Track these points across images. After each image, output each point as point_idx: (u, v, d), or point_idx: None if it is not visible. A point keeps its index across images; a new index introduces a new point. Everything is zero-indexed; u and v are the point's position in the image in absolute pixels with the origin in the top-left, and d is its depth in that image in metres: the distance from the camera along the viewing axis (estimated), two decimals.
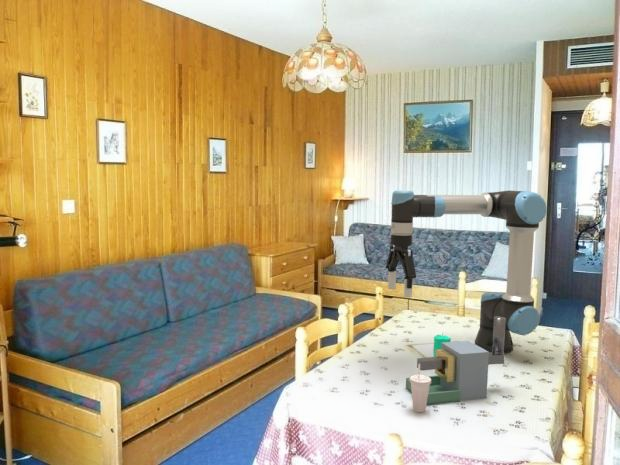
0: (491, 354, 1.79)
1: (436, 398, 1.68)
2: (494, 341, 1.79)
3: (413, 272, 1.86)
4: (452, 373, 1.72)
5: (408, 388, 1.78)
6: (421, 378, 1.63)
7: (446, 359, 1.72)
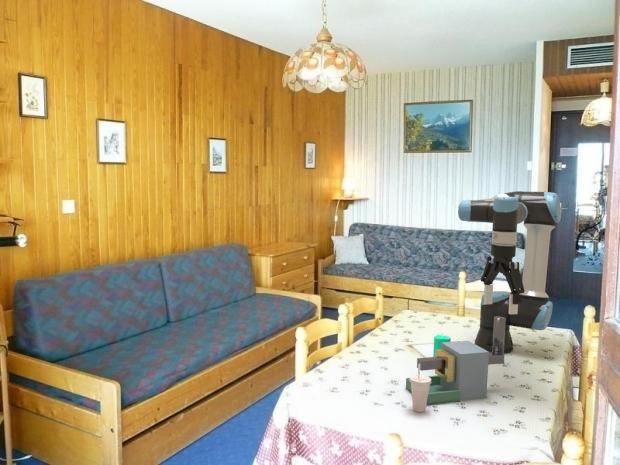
0: (491, 354, 1.79)
1: (436, 398, 1.68)
2: (494, 341, 1.79)
3: (521, 287, 1.69)
4: (452, 373, 1.72)
5: (408, 388, 1.78)
6: (421, 378, 1.63)
7: (446, 359, 1.72)
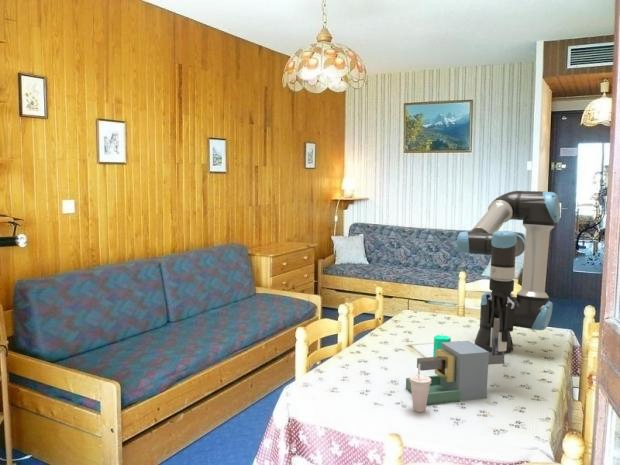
0: (491, 354, 1.79)
1: (436, 398, 1.68)
2: (494, 341, 1.79)
3: (511, 326, 1.74)
4: (452, 373, 1.72)
5: (408, 388, 1.78)
6: (421, 378, 1.63)
7: (446, 359, 1.72)
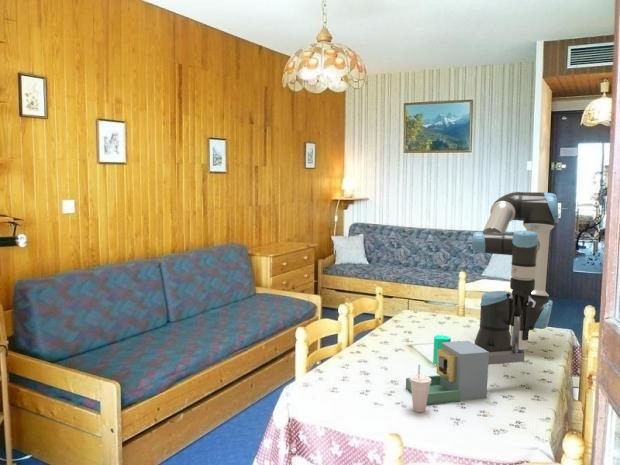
0: (511, 352, 1.81)
1: (436, 398, 1.68)
2: (514, 339, 1.81)
3: (532, 325, 1.76)
4: (454, 373, 1.72)
5: (408, 388, 1.78)
6: (421, 378, 1.63)
7: (448, 359, 1.72)
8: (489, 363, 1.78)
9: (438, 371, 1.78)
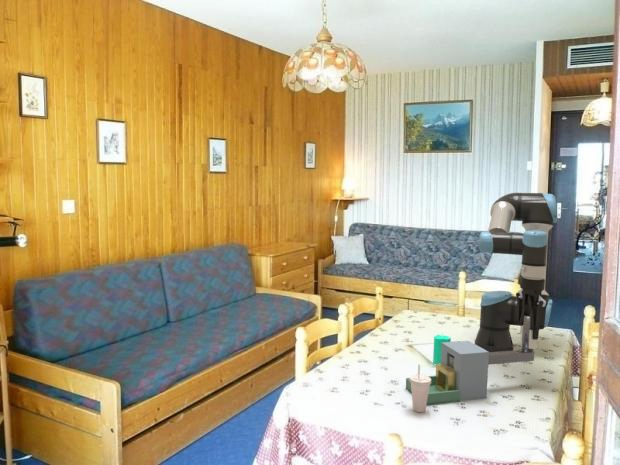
0: (521, 352, 1.82)
1: (436, 398, 1.68)
2: (524, 339, 1.82)
3: (542, 324, 1.77)
4: (452, 388, 1.73)
5: (408, 388, 1.78)
6: (421, 378, 1.63)
7: (447, 374, 1.73)
8: (499, 362, 1.79)
9: (437, 385, 1.79)
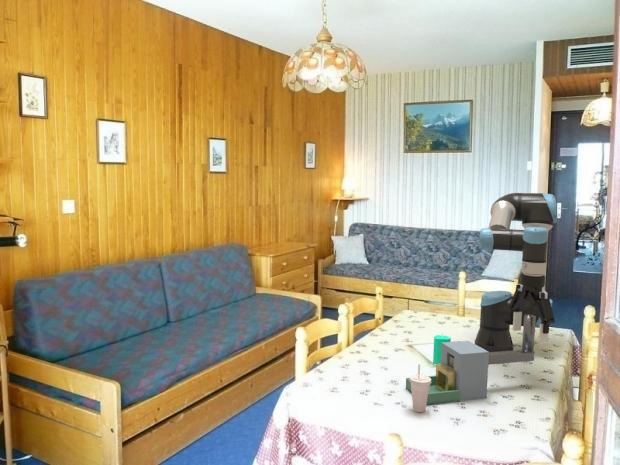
0: (521, 351, 1.82)
1: (436, 398, 1.68)
2: (524, 339, 1.82)
3: (551, 317, 1.73)
4: (452, 388, 1.73)
5: (408, 388, 1.78)
6: (421, 378, 1.63)
7: (446, 374, 1.73)
8: (499, 362, 1.79)
9: (437, 386, 1.79)
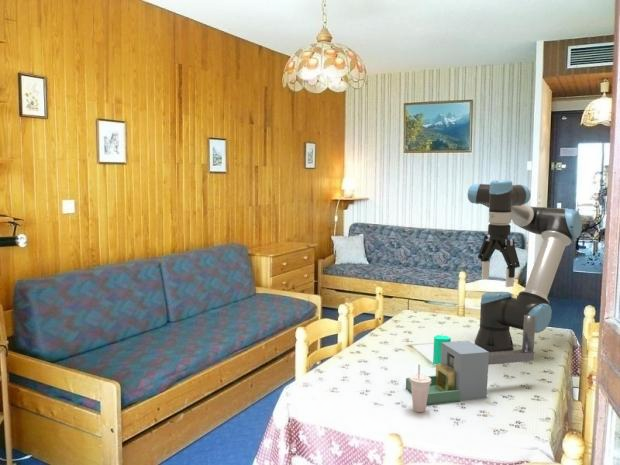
0: (521, 351, 1.82)
1: (436, 398, 1.68)
2: (524, 339, 1.82)
3: (517, 261, 1.86)
4: (452, 388, 1.73)
5: (408, 388, 1.78)
6: (421, 378, 1.63)
7: (446, 374, 1.73)
8: (499, 362, 1.79)
9: (437, 386, 1.79)
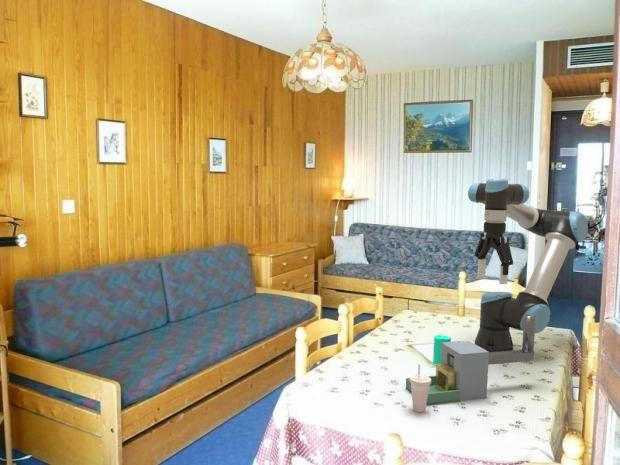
0: (521, 351, 1.82)
1: (436, 398, 1.68)
2: (524, 339, 1.82)
3: (510, 259, 1.88)
4: (452, 388, 1.73)
5: (408, 388, 1.78)
6: (421, 378, 1.63)
7: (446, 374, 1.73)
8: (499, 362, 1.79)
9: (437, 386, 1.79)
